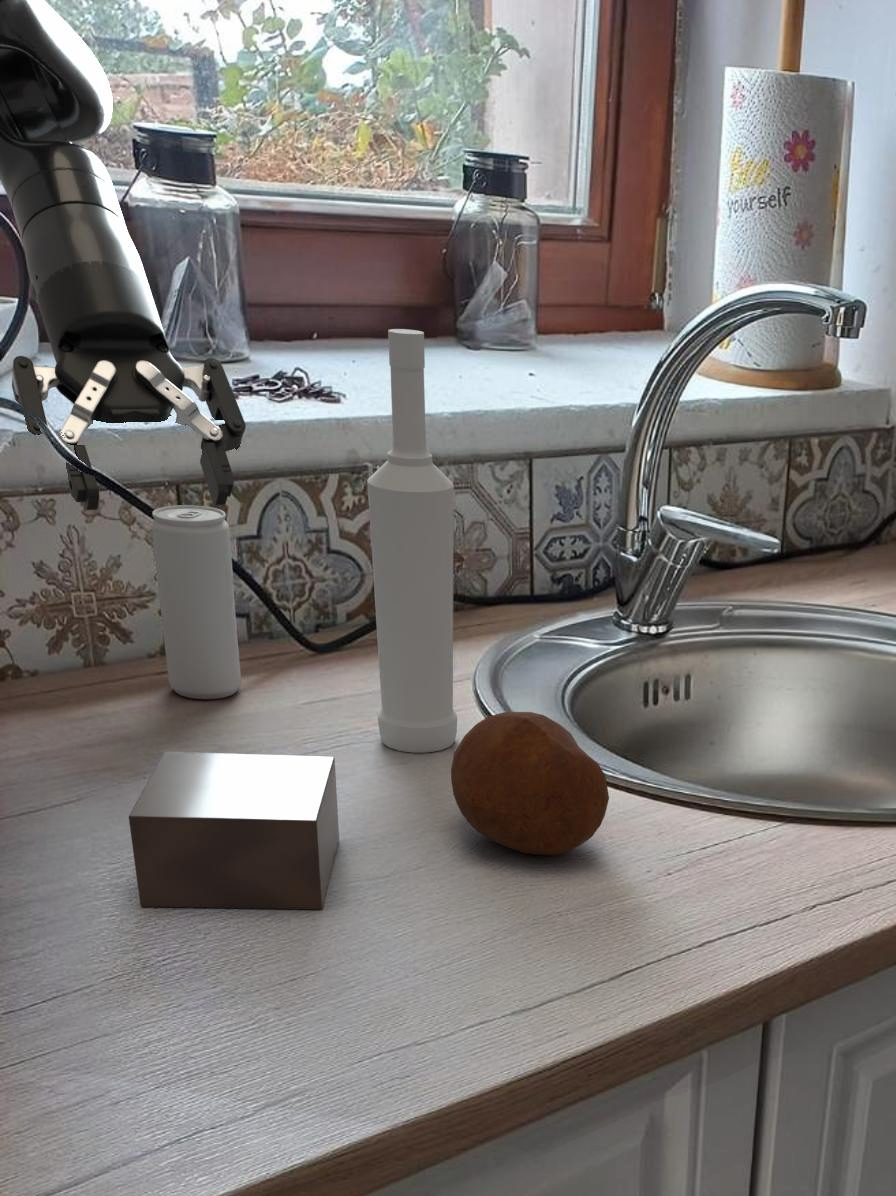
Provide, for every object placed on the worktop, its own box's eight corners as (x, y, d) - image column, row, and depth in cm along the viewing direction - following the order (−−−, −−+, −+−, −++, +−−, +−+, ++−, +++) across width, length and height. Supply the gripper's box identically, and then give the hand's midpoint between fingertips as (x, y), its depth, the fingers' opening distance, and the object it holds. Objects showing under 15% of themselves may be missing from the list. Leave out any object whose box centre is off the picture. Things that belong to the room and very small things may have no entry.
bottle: (471, 735, 103) (467, 333, 91) (433, 759, 99) (422, 340, 86) (404, 721, 104) (390, 322, 92) (362, 744, 100) (342, 329, 88)
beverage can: (156, 695, 105) (135, 515, 99) (190, 675, 109) (172, 501, 103) (223, 705, 104) (206, 524, 98) (255, 684, 108) (240, 510, 102)
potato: (547, 891, 84) (549, 761, 80) (406, 834, 88) (402, 710, 85) (643, 846, 90) (649, 724, 86) (506, 795, 95) (506, 678, 91)
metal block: (140, 907, 78) (128, 816, 75) (173, 835, 86) (163, 750, 83) (322, 910, 79) (316, 821, 77) (339, 839, 87) (334, 756, 85)
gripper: (-16, 252, 100) (51, 472, 98) (205, 261, 107) (273, 465, 105) (-19, 329, 106) (44, 537, 104) (190, 332, 113) (253, 526, 111)
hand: (159, 501), depth 104 cm, fingers open, 8 cm apart
